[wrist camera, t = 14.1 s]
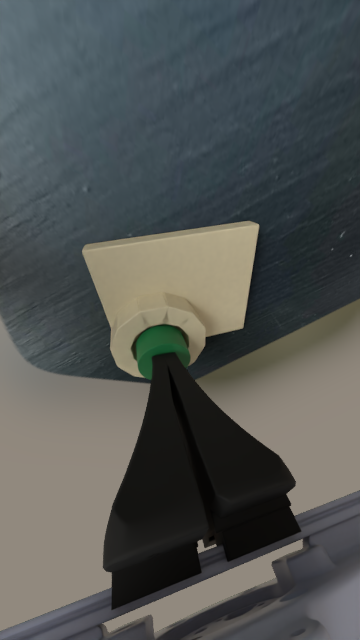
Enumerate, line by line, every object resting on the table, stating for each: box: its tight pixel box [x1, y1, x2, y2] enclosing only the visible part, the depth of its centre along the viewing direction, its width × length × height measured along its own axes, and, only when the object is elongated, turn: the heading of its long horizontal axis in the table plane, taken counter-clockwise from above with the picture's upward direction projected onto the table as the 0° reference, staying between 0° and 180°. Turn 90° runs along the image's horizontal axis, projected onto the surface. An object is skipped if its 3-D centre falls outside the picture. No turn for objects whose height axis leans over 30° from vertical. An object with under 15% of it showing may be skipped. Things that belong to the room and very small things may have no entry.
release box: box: [82, 221, 259, 377], centre depth 13 cm, size 10×9×3 cm
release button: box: [136, 325, 191, 380], centre depth 12 cm, size 3×3×2 cm
